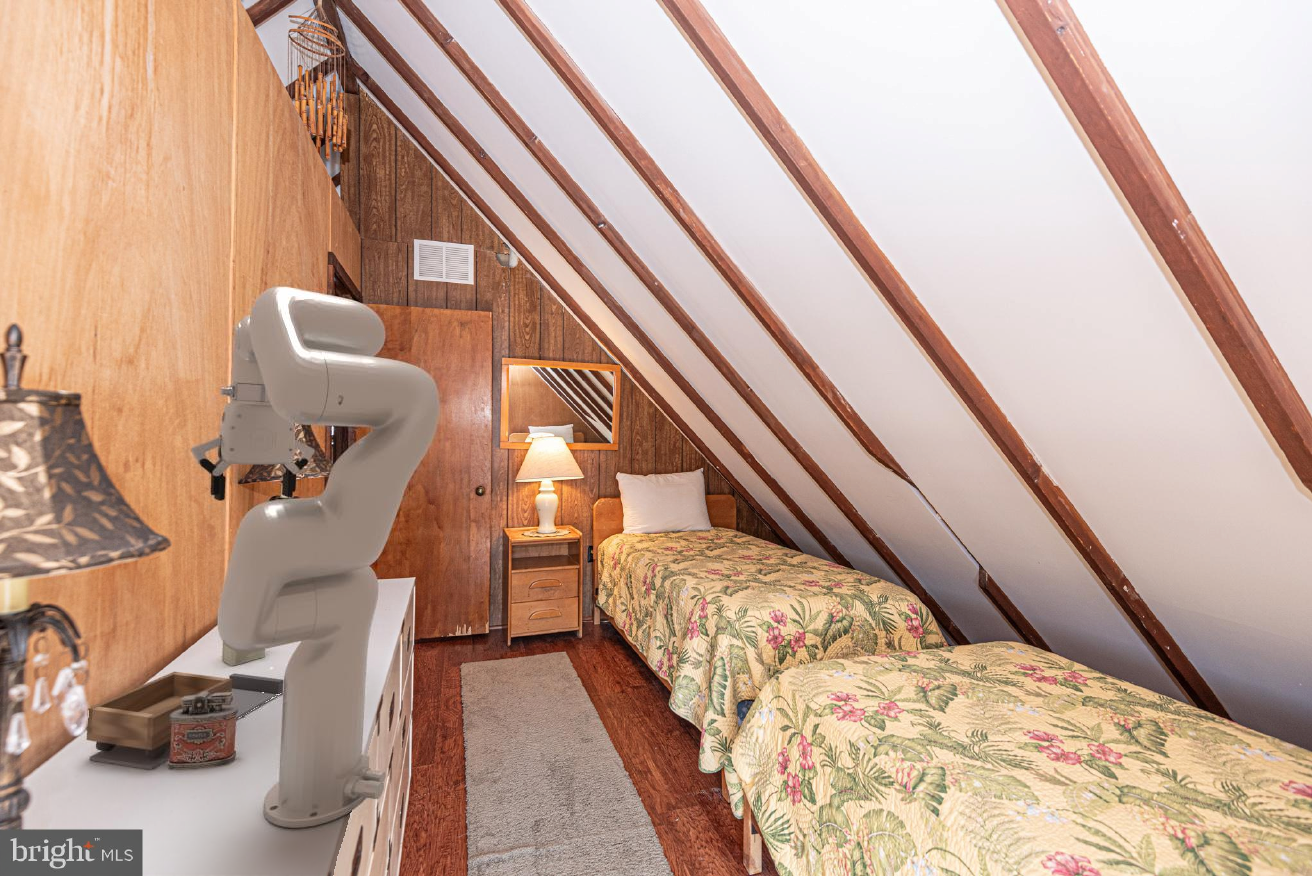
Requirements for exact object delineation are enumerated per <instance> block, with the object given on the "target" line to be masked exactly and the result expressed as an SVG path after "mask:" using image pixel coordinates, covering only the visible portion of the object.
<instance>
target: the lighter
mask: <svg viewBox="0 0 1312 876" xmlns="http://www.w3.org/2000/svg"><path fill="white" fill-rule="evenodd" d="M232 701H233V693H231V692H225V693H214V694H210V693H209V692H208V691H203V692H201V693H200V694H199V695H191V696H185V697H183V698H182V699H181V706H182V709H180V710H177V711H174V712H173V713H171V715H170V722H172V724H171V747H170V759H169V760H167V769H168V770H169V771H193V770H194V771H197V770H202V769H203V770H204V769H212V768H216V767H217V768H218V767H224V766H227V765H230V764H232V763H233V762H234V761H236V759H237V750H236V749H235V748H236V728H237V727H236V726H237V720H236V715H237V713H238V706H235V705H222V704H228V703H231V702H232ZM214 704H216V705H214ZM190 706H192V708H190Z"/></svg>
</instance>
